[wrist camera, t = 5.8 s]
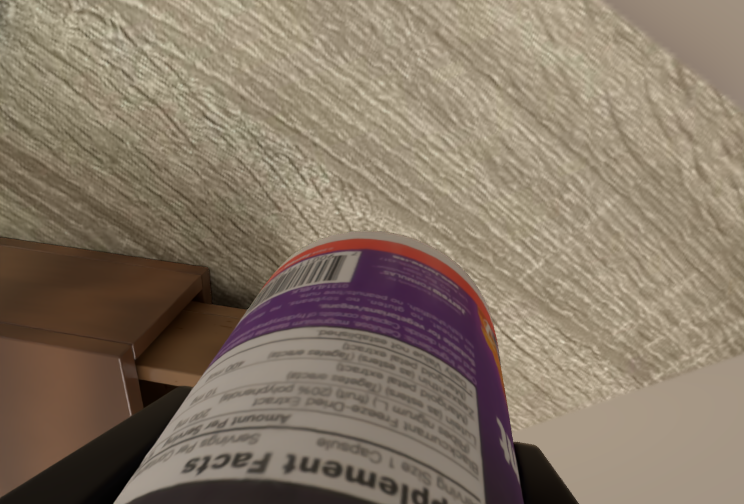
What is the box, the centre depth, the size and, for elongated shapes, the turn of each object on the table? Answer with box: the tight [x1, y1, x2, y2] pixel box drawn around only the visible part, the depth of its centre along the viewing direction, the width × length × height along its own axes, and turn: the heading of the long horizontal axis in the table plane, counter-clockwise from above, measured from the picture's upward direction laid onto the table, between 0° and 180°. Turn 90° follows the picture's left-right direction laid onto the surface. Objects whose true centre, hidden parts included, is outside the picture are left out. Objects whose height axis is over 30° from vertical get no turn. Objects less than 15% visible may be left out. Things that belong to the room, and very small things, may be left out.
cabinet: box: [0, 237, 212, 497], centre depth 23 cm, size 13×12×7 cm
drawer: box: [134, 301, 247, 408], centre depth 23 cm, size 13×10×5 cm
